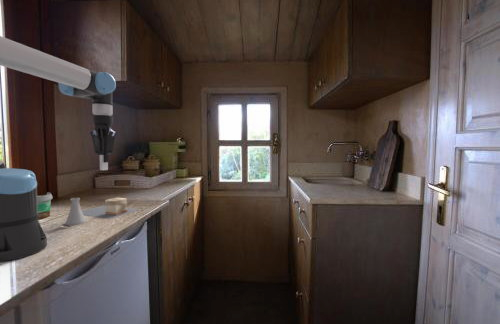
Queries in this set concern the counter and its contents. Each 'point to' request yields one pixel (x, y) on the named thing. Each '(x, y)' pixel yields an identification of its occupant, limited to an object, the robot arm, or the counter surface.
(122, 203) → the birch cube
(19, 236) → the robot arm
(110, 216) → the rubber mat
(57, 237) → the counter surface
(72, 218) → the flask
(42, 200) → the food container
